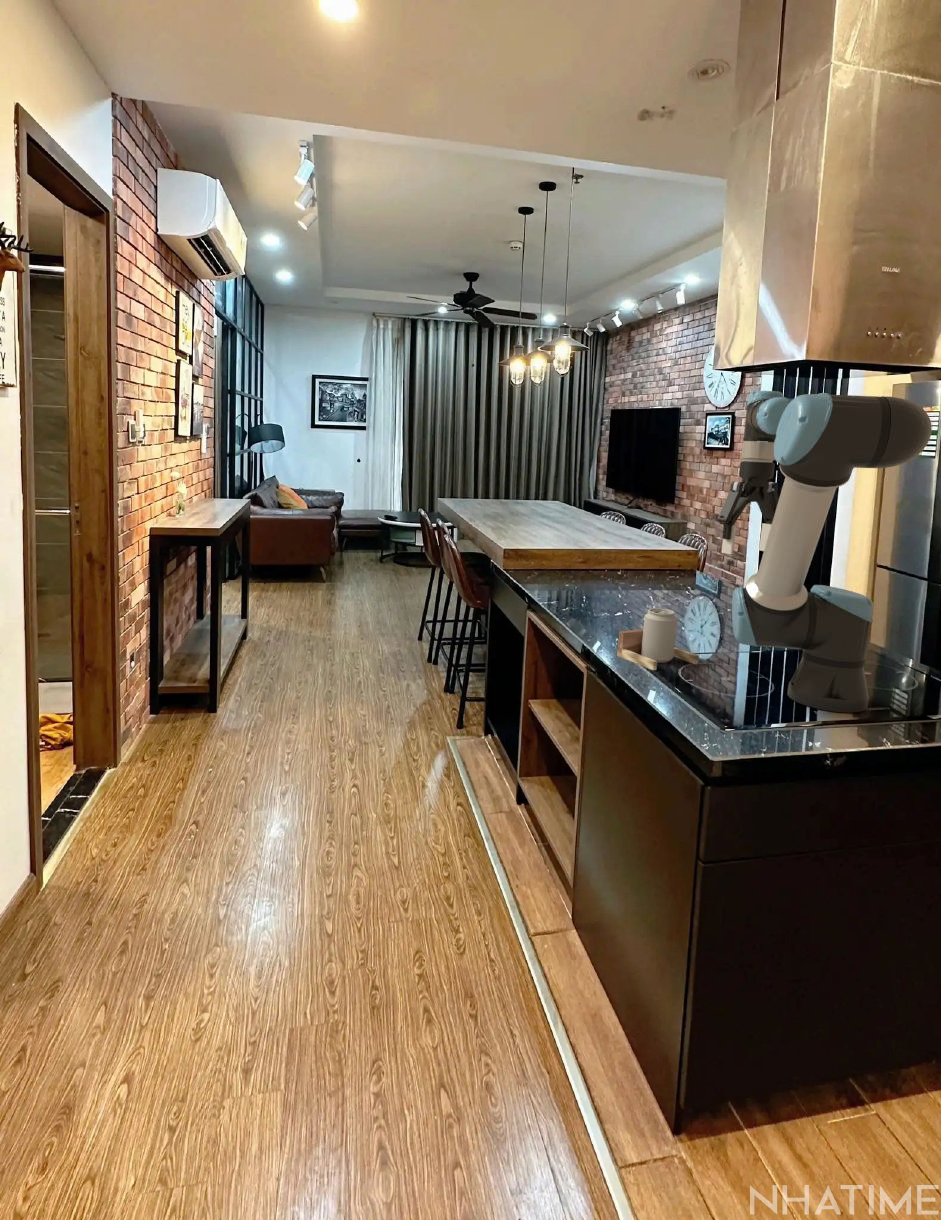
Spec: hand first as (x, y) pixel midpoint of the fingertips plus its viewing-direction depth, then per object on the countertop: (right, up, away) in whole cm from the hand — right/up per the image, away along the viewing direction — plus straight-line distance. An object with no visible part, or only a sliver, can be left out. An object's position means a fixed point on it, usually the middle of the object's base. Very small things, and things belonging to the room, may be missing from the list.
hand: (746, 552), depth 182 cm
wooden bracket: (-21, -25, +2) cm, 33 cm away
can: (-21, -26, +2) cm, 33 cm away
